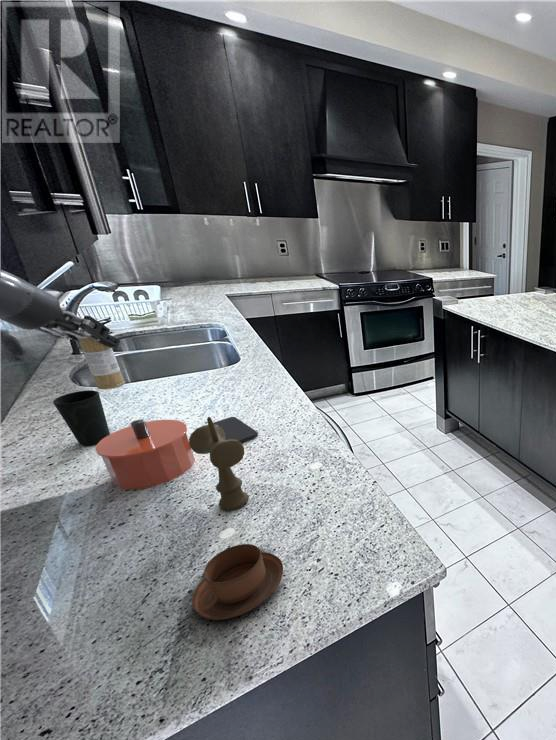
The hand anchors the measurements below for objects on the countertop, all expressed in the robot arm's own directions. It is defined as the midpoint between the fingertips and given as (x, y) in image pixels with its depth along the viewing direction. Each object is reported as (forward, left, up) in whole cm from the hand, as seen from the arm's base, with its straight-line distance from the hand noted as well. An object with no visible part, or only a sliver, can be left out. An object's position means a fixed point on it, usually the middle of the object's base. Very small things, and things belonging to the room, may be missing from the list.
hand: (105, 343), depth 86 cm
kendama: (+19, -30, -28) cm, 45 cm away
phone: (+17, +2, -27) cm, 32 cm away
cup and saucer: (+21, -54, -28) cm, 64 cm away
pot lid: (+4, -12, -18) cm, 22 cm away
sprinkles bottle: (-1, -2, -9) cm, 9 cm away
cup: (-12, +12, -28) cm, 32 cm away
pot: (+4, -12, -27) cm, 30 cm away
